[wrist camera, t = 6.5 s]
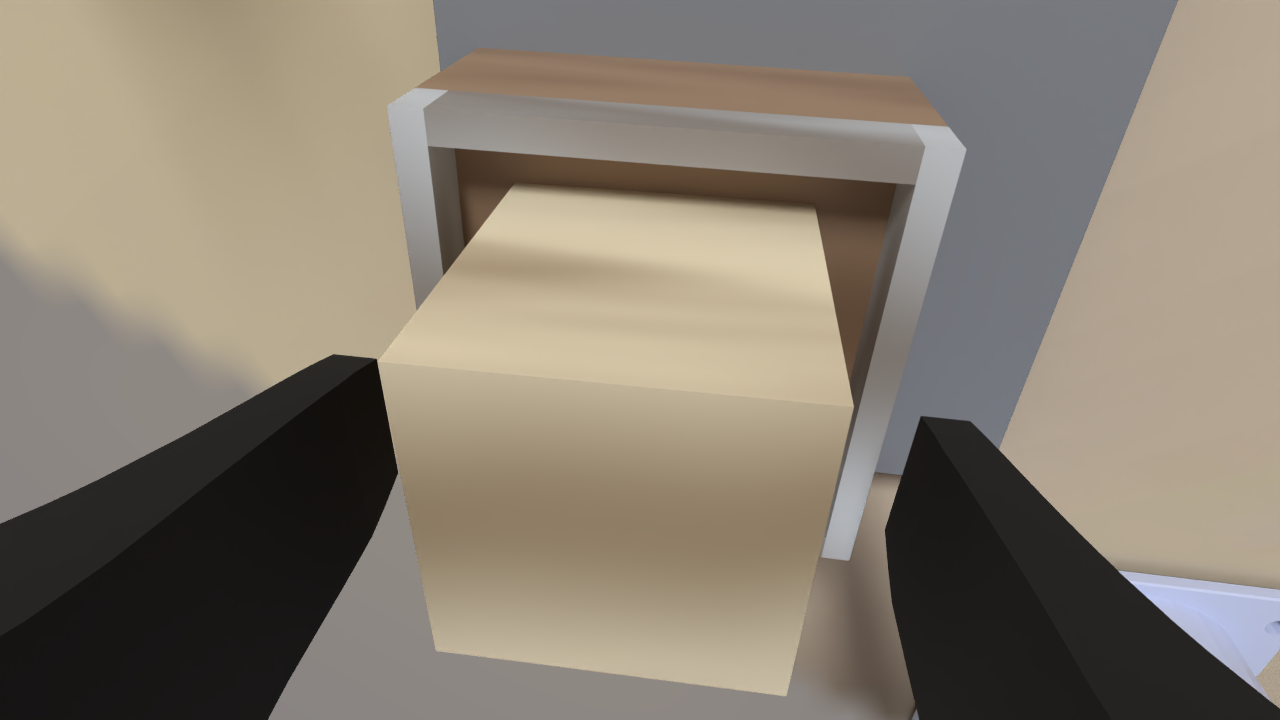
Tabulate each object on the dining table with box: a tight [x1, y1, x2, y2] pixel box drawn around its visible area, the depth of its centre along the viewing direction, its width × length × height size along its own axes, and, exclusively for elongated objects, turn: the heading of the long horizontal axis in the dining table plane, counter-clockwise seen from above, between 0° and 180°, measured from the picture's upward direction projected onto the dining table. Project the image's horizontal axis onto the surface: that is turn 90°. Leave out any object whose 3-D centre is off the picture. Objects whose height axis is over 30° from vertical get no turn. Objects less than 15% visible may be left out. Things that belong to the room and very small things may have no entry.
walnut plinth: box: [387, 48, 967, 561], centre depth 13 cm, size 8×8×4 cm
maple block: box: [378, 183, 854, 696], centre depth 10 cm, size 4×4×5 cm
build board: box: [433, 0, 1178, 475], centre depth 13 cm, size 18×12×1 cm, turn 178°
